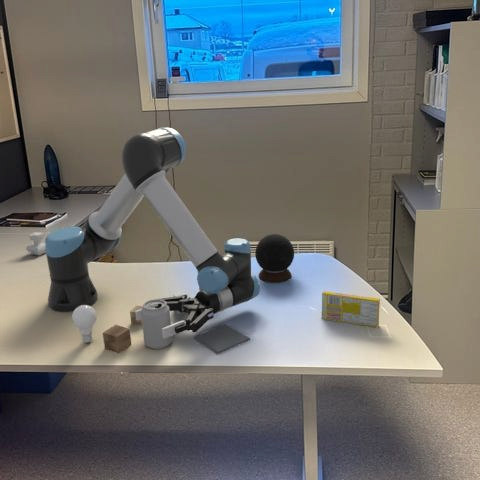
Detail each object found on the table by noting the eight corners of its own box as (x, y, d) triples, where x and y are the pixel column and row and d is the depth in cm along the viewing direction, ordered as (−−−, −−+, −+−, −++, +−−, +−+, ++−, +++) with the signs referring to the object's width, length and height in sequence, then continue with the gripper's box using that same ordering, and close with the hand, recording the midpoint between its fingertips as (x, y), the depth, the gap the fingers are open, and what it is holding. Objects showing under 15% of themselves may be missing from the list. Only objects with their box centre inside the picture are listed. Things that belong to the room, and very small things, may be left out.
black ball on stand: (302, 276, 191) (302, 235, 186) (272, 287, 184) (272, 244, 179) (277, 266, 201) (276, 226, 196) (248, 275, 194) (246, 234, 189)
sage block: (174, 309, 171) (173, 294, 170) (187, 306, 173) (186, 292, 171) (178, 314, 168) (177, 299, 166) (191, 312, 169) (190, 297, 168)
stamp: (41, 249, 229) (38, 229, 226) (53, 251, 226) (50, 231, 223) (24, 256, 221) (21, 236, 218) (37, 258, 218) (33, 238, 215)
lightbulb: (78, 337, 157) (73, 301, 153) (101, 335, 157) (96, 300, 154) (74, 348, 151) (68, 312, 147) (98, 347, 151) (92, 310, 148)
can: (167, 351, 148) (163, 310, 144) (140, 349, 149) (136, 309, 145) (175, 337, 155) (172, 298, 151) (150, 335, 156) (146, 296, 152)
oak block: (131, 323, 164) (129, 311, 162) (137, 317, 167) (135, 305, 166) (143, 325, 163) (142, 312, 161) (149, 319, 166) (148, 306, 165)
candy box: (379, 325, 158) (380, 298, 155) (377, 328, 156) (379, 301, 153) (323, 316, 164) (323, 290, 161) (321, 319, 162) (321, 293, 159)
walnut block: (104, 349, 151) (102, 332, 149) (117, 340, 155) (115, 324, 153) (118, 353, 148) (116, 336, 146) (131, 345, 152) (129, 328, 150)
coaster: (193, 338, 154) (193, 336, 154) (225, 325, 160) (225, 323, 160) (217, 354, 146) (217, 352, 146) (250, 339, 152) (250, 337, 152)
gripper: (241, 327, 153) (176, 354, 141) (189, 298, 171) (127, 321, 159) (240, 302, 151) (174, 328, 138) (187, 276, 169) (124, 296, 156)
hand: (149, 324), depth 148 cm, fingers open, 13 cm apart
